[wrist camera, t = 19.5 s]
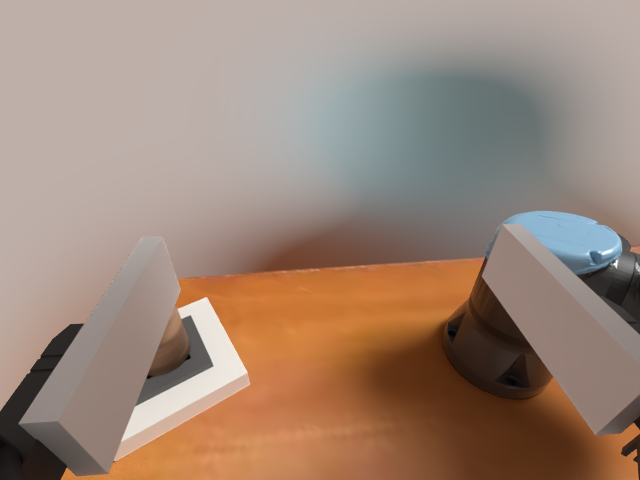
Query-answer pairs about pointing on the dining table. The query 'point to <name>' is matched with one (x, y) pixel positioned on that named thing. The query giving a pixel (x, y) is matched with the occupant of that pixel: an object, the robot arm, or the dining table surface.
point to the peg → (171, 347)
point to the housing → (187, 381)
